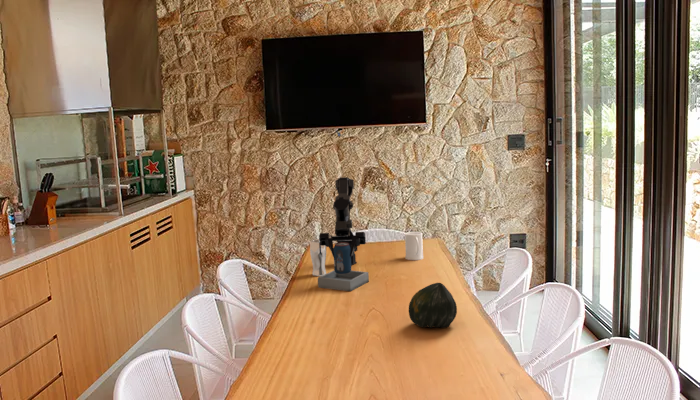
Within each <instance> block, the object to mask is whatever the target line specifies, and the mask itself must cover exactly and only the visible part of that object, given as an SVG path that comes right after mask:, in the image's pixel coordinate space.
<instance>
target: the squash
mask: <svg viewBox="0 0 700 400" xmlns="http://www.w3.org/2000/svg"><path fill="white" fill-rule="evenodd" d="M457 307H458V306H457V302H456V300H455V299H454V296H453V295H452V293H451V292H450V291H449V289H448V288H447V287H446V286H445V284H443V283H442V282H435V283H434V282H433V283H431V284H429V285H427V286H425V287H423V288H421V289H419V290H418V291H417V292H415V294H414V295H413V296H412V297H411V300H410V301H409V304H408V316H409V319H410V321H412V322H411V323H413V324H414V325H417V326H418V327H420V328H427V327H428V328H433V327H434V328H440V329H444V328H447V327H449V326H451V324H452V323H453V322H454V321H455V319H456V317H457V313H458V308H457Z"/></svg>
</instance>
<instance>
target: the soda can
mask: <svg viewBox="0 0 700 400" xmlns="http://www.w3.org/2000/svg"><path fill="white" fill-rule="evenodd" d="M333 250H334V257H333V271H335V272H336V274H340V275H344V274H349V273H350V271H351V270H352V265H351V255H350V252H351V247H350V246H349V243H346V242H339V243H337V242H336V243H334V245H333Z"/></svg>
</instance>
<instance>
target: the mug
mask: <svg viewBox="0 0 700 400" xmlns="http://www.w3.org/2000/svg"><path fill="white" fill-rule="evenodd" d="M404 240H405V243H404V244H405V258H404V259H405V260H407V261H421V260H424V249H423V248H424V247H423V246H424V244H423V242H424V241H423V232H421V231H408V232H407V231H406V232H405V233H404Z"/></svg>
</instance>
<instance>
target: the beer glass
mask: <svg viewBox="0 0 700 400" xmlns="http://www.w3.org/2000/svg"><path fill="white" fill-rule="evenodd" d="M309 251H310V252H309V253H310V259H311V263H312V274H311V275H312V277H313V276H314V277H320V276H323V275H325V274H327V270H326V260H327V247H326V245H324V246H322V245H320V240H319V238H315V239H312V240H310V242H309Z"/></svg>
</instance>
